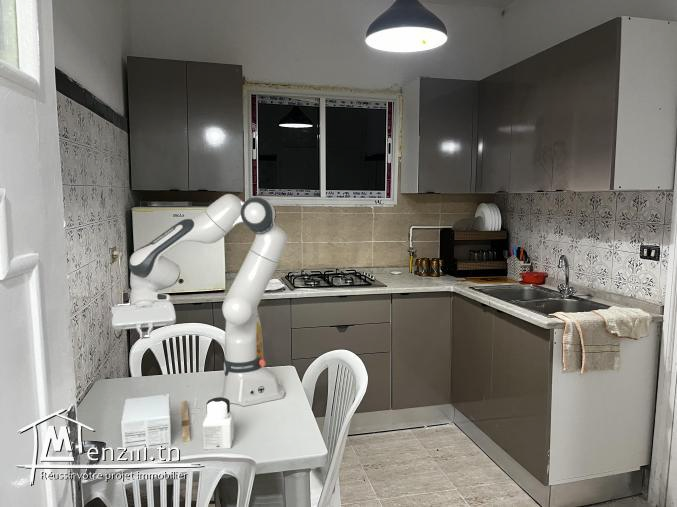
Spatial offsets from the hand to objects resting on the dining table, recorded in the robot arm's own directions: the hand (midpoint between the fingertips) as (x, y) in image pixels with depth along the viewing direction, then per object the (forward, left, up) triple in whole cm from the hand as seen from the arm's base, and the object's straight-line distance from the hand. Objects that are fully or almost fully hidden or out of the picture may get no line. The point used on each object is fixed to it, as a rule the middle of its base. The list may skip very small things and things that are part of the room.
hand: (145, 337), depth 166 cm
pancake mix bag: (-37, -19, -25) cm, 48 cm away
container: (-21, +31, -25) cm, 45 cm away
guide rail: (-12, +14, -25) cm, 31 cm away
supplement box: (-1, +20, -25) cm, 32 cm away
